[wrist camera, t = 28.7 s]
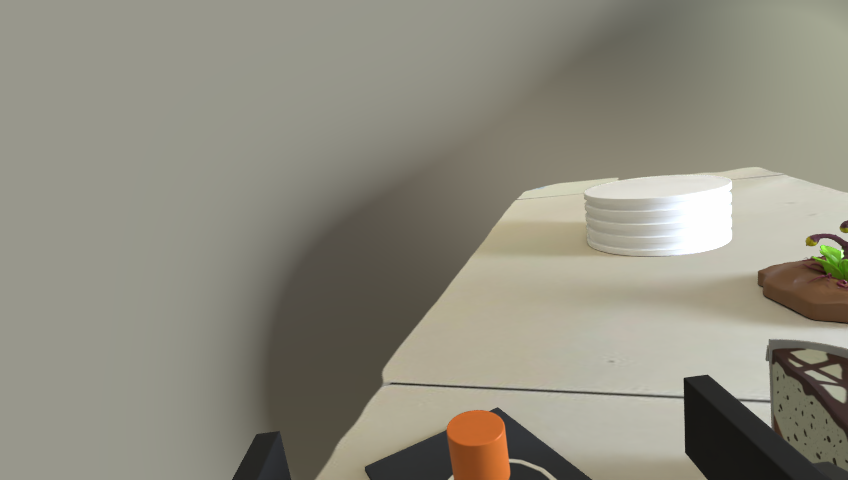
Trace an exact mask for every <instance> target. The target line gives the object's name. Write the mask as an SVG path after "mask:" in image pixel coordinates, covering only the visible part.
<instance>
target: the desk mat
mask: <svg viewBox="0 0 848 480" xmlns="http://www.w3.org/2000/svg"><path fill="white" fill-rule="evenodd" d="M489 412H492V413H494V414H496V415H498V416H499V417H500V418H501V419H502V420H503V422H504V425H505V433H506V441H507V449H508V457H509V465H510V477H509V480H592V479H590V478H589V477H588V476H586V475H585V474H584V473H583V472H581V471H580V470H579V469H577V468H576V467H575V466H573V465H572V464H571V463H570V462H568V461H567V460H566V459H564V458H563V457H562V456H560V455H559V454H558V453H557V452H555V451H554V450H553V449H551V448H550V447H549V446H547V445H546V444H545V443H544V442H542V441H541V440H540V439H538V438H537V437H536V436H534V435H533V434H532V433H531V432H529V431H528V430H527V429H525V428H524V427H523V426H521V425H520V424H519V423H518V422H516V421H515V420H514V419H512V418H511V417H510V416H508V415H507V414H506V413H505V412H503V411H502V410H501V409H499V408H498V407H497V408H495V409H493V410H491V411H489ZM365 471H366V472H367V474H368V476H369V478H370V479H371V480H454V477H453V470H452V464H451V457H450V451H449V444H448V438H447V430H446V431H444V432H442V433H439V434H437V435H435V436H433V437H430V438H428V439H426V440H424V441H421V442H419V443H417V444H415V445H413V446H410V447H408V448H406V449H404V450H401V451H399V452H397V453H395V454H392V455H390V456H388V457H386V458H384V459H381V460H379V461H377V462H375V463H372V464H370V465H368V466H366V467H365Z"/></svg>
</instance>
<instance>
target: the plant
mask: <svg viewBox="0 0 848 480" xmlns="http://www.w3.org/2000/svg"><path fill="white" fill-rule="evenodd" d="M840 230H841V232H843V233H848V220H847V221H844V222H843V223H842V224H841V226H840ZM821 238H829V239H832V240H834V241H836V242H837V243H838V244H840V245H841V246H842V250H841V251H839V250H837V249H835V248H833V247H829V246H825V245H821V246H820V248H821V250H822V251H821V250H820V253H821V254H822V255H824V256H822V257H814V256H812V257H811V258H810V259H808V258H807V260H802V261H797V262H788V263H783V264H779V265H773V266H770V267H768V268H766V269H763V270H759V271H758V285H761V286H763V294H764V295H765V296H766V297H768V298H770V299H772V300H774V301H776V302H778V303H781V304H783V305H785V306H787V307H789V308H791V309H793V310H795V311H796V312H798V313H800V314H802V315H804V316H806V317H808V318H810V319H813V320H822V321H836V322H846V323H848V242H846V241H844V240H843V239H841V238H840V237H838V236H837V235H832V234H815V235H812V236H810V237H808V238H807V239H806V246H807V245H808V246H815V245H816V244H817V243H818V242H819V240H820V239H821Z"/></svg>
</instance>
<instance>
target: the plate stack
mask: <svg viewBox="0 0 848 480" xmlns="http://www.w3.org/2000/svg"><path fill="white" fill-rule="evenodd" d="M731 188H732V181H731V180H730V179H728V178H725V177H721V176H712V175H668V176H653V177H642V178H634V179H626V180H620V181H614V182H609V183H604V184H600V185H597V186H593V187H591V188H588V189H587V190H585V191H584V199H585V200H587V201H586V202H585V210H586V211H587V213H586V222H587V225H586V229H587V233H588V235H587V242H588V244H589V246H591V247H592V248H594V249H596V250H599V251H602V252H607V253H612V254H618V255H627V256H674V255H685V254H692V253H698V252H704V251H708V250H712V249H715V248H718V247H721V246H723V245H725V244H727V243H728V242H730V240H731V239H732V230H731V229H730V228H731V226H732V218H731V217H730V215H731V214H732V206H731V205H730V204H729V203H730V202H731V201H732V194H731V192H730V191H729V190H730V189H731Z"/></svg>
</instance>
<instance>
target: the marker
mask: <svg viewBox="0 0 848 480" xmlns="http://www.w3.org/2000/svg"><path fill="white" fill-rule="evenodd" d="M447 438H448V444H449V451H450V457H451V464H452V470H453V477H454V480H509V477H510V465H509V457H508V449H507V441H506V433H505V425H504V422H503V420H502V419H501V418H500V417H499V416H498V415H496V414H494V413H492V412H489V411H483V410H474V411H468V412H464V413H462V414H459V415H457V416H456V417H454V418H453V419H452V420H451V421H450V422H449V424H448V426H447Z"/></svg>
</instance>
